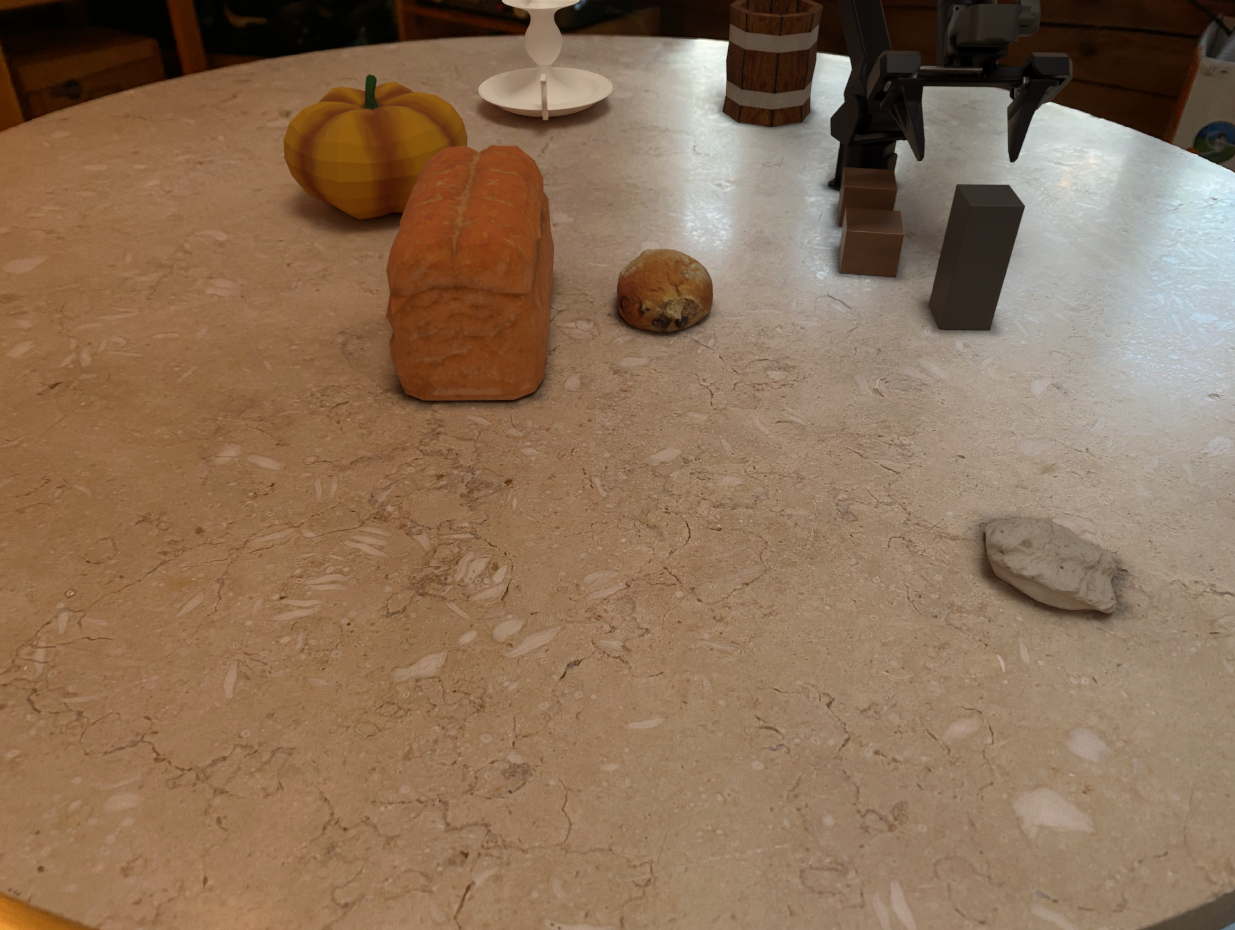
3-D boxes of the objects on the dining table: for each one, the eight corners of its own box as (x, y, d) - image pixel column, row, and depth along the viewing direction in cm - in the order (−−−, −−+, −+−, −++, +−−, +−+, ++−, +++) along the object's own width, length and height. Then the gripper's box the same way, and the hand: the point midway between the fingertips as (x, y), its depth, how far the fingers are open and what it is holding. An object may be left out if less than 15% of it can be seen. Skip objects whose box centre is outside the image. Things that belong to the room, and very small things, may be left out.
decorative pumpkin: (292, 181, 123) (265, 62, 114) (458, 161, 129) (445, 45, 119) (301, 246, 108) (271, 115, 99) (489, 220, 114) (477, 93, 104)
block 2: (839, 248, 107) (845, 207, 104) (892, 252, 107) (900, 211, 103) (839, 273, 103) (846, 230, 100) (895, 277, 102) (904, 234, 99)
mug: (817, 127, 139) (831, 17, 129) (725, 127, 139) (733, 17, 129) (798, 85, 154) (810, -15, 145) (716, 85, 154) (722, -15, 145)
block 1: (837, 206, 117) (843, 167, 113) (887, 209, 116) (894, 170, 113) (838, 226, 112) (844, 186, 109) (889, 230, 111) (897, 189, 108)
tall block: (928, 304, 97) (956, 183, 89) (976, 305, 97) (1009, 184, 89) (939, 329, 93) (970, 205, 85) (990, 330, 93) (1025, 205, 85)
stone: (1169, 592, 62) (1038, 576, 60) (1129, 637, 65) (1002, 623, 63) (1099, 492, 70) (980, 475, 68) (1066, 536, 73) (951, 521, 71)
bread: (390, 404, 84) (360, 248, 74) (432, 265, 104) (413, 129, 95) (547, 402, 84) (537, 246, 74) (557, 264, 105) (551, 128, 95)
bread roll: (715, 332, 100) (728, 256, 98) (694, 340, 90) (708, 256, 88) (627, 317, 102) (638, 243, 100) (598, 323, 93) (608, 241, 91)
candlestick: (473, 143, 134) (451, -81, 116) (484, 88, 153) (466, -111, 136) (617, 140, 135) (617, -83, 117) (609, 86, 154) (608, -113, 136)
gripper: (895, -40, 87) (895, 123, 86) (1099, -38, 86) (1102, 126, 85) (866, 25, 98) (865, 171, 97) (1046, 27, 97) (1048, 173, 96)
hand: (967, 160), depth 93 cm, fingers open, 9 cm apart
